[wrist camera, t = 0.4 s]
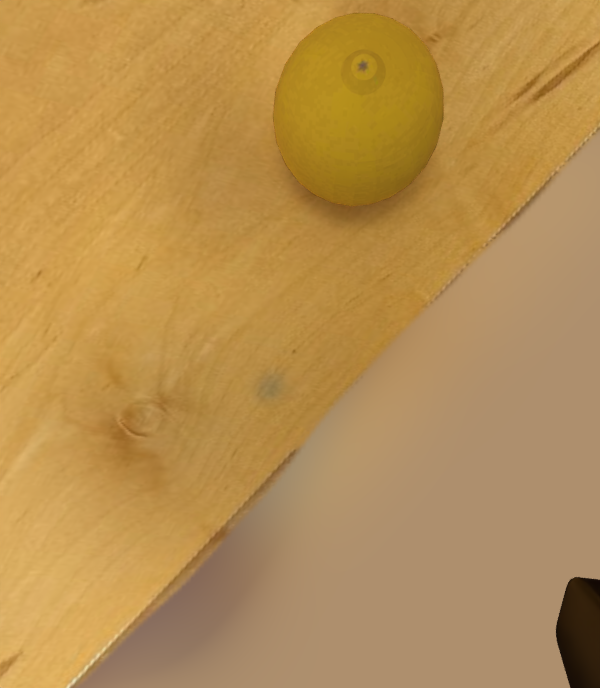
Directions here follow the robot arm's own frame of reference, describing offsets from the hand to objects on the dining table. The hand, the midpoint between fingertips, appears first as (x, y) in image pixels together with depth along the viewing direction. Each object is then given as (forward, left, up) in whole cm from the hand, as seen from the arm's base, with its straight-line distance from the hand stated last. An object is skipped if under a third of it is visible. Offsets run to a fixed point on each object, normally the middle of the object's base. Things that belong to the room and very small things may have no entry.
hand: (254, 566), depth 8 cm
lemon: (+10, 0, -16) cm, 19 cm away
